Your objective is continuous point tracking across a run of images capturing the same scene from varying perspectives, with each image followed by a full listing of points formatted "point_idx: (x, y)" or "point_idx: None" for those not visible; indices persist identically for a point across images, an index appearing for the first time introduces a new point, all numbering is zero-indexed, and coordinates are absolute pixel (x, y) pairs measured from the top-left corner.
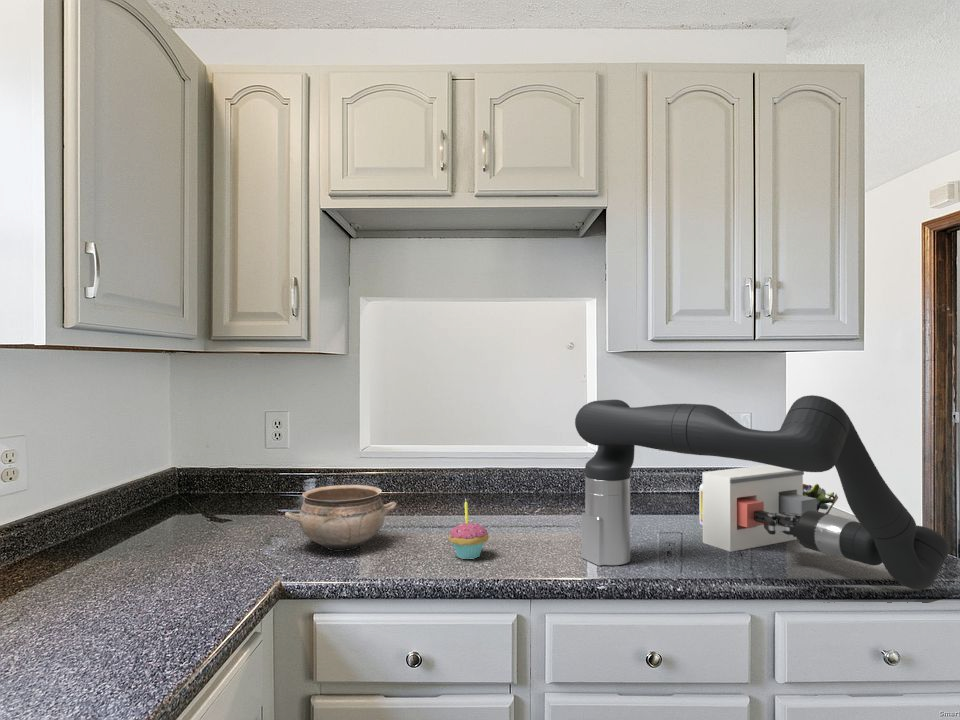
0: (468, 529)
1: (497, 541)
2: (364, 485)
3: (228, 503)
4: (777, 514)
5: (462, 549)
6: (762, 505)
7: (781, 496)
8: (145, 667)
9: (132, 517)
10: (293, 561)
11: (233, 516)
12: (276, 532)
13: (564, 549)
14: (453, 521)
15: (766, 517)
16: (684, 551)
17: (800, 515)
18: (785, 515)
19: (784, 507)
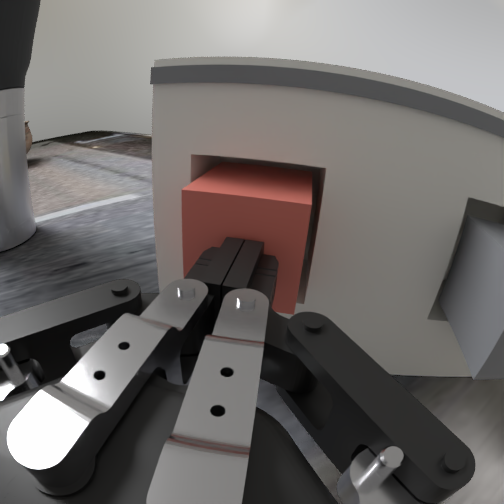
0: None
1: (47, 182)
2: (28, 121)
3: (80, 136)
4: (130, 319)
5: None
6: (298, 222)
7: (474, 221)
8: None
9: (37, 141)
10: None
11: (54, 143)
12: (27, 154)
13: (36, 207)
14: (101, 159)
15: (74, 298)
16: (99, 278)
17: (188, 498)
18: (131, 370)
19: (465, 272)
